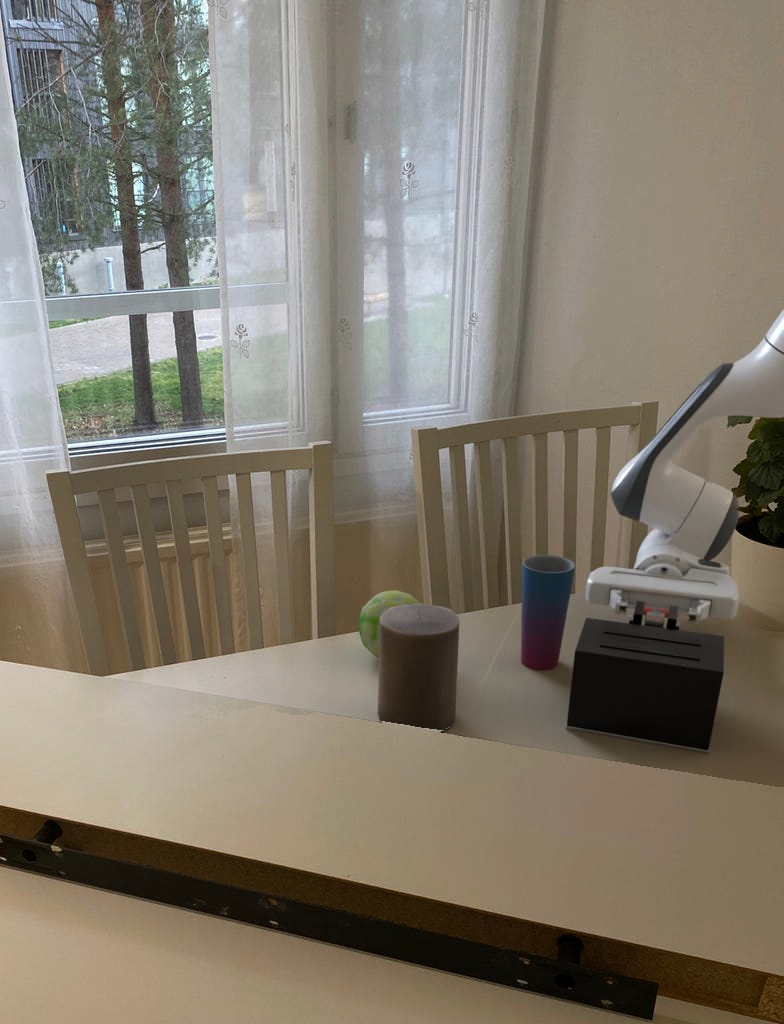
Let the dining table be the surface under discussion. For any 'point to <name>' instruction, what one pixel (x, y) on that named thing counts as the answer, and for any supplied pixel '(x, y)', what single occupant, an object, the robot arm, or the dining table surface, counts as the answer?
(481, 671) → the dining table surface
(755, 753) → the dining table surface
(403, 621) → the pillar candle
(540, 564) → the cup
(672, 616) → the bracket
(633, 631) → the toaster
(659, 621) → the lever
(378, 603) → the decorative ball
